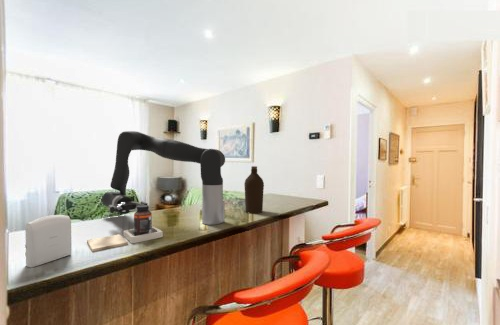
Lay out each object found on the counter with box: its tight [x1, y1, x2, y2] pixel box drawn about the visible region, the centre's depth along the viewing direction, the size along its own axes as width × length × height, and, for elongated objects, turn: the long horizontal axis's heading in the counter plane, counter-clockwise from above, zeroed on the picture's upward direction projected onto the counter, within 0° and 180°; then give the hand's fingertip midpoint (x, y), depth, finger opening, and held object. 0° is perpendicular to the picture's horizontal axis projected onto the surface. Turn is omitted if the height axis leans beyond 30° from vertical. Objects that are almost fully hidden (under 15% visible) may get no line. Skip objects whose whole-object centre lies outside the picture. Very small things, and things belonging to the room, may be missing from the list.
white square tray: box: [123, 225, 164, 244], centre depth 89 cm, size 10×10×2 cm
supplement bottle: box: [133, 204, 153, 236], centre depth 89 cm, size 6×6×11 cm
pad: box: [86, 234, 129, 252], centre depth 81 cm, size 10×11×1 cm
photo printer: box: [25, 214, 72, 268], centre depth 67 cm, size 10×4×12 cm, turn 156°
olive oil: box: [244, 165, 265, 214], centre depth 133 cm, size 11×11×25 cm
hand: (133, 209), depth 97 cm, fingers open, 8 cm apart
